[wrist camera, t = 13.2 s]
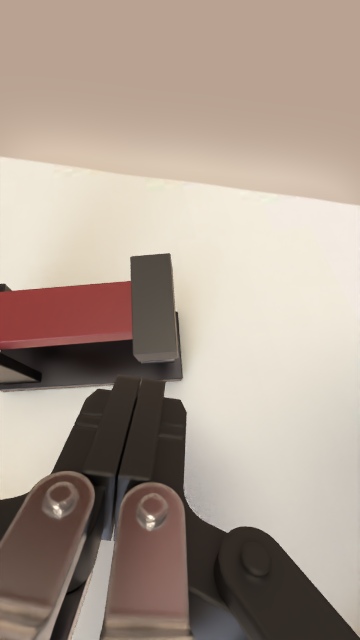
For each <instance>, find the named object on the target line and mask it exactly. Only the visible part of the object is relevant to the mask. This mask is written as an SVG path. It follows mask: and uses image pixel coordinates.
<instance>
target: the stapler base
mask: <svg viewBox="0 0 360 640" xmlns="http://www.w3.org/2000/svg"><path fill="white" fill-rule="evenodd" d="M6 291H12V290H11V289H10V288H9V287H8V286H7V285H6V284H0V292H6ZM175 313H176V327H177V341H178V356H179V358H177V359H165V360H152V361H138V360H137V358H136V357H135V356H134V355H133V339H129V340H117V341H104V342H92V343H79V344H67V345H54V346H42V347H29V348H17V349H4V350H1V352H0V391H3V392H7V391H23V390H39V389H55V388H71V387H87V386H103V385H114V383H115V380H116V378H117V376H118V375H126V376H133V377H140V378H141V383H142V379H143V378H148V379H156V380H163V381H181V380H182V378H183V377H182V364H181V350H180V336H179V322H178V312H175Z"/></svg>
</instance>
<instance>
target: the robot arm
mask: <svg viewBox="0 0 360 640" xmlns="http://www.w3.org/2000/svg"><path fill="white" fill-rule="evenodd" d="M165 383H166V381H163V380H156V379H148V378H143V379H142V383H141V378H140V377H133V376H126V375H118V376H117V378H116V380H115V383H114V386H113V389H112V390H105V389H97V390H96V391H95V392H94V393H92V394H91V395H90V396H89V397H88V398H86V400H85V402H84V404H83V407H82V409H81V411H80V414H79V415H78V417H77V419H76V422H75V425H74V426H73V428H72V430H71V432H70V434H69V437H68V439H67V441H66V443H65V445H64V447H63V450H62V452H61V454H60V456H59V458H58V460H57V462H56V465H55V467H54V469H53V471H52V472H51V474H50V475H49V476H47V477H45V478H43V479H42V480H40V481H39V482H38V483H37V484H36V485H35V486H34V487H33V488H32V489H31V491H30V492H28V493H26V494H24V495H21V496H18V497H14V498H9V499H4V500H0V640H71V639H72V636H73V633H74V630H75V627H76V624H77V621H78V617H79V614H80V611H81V608H82V605H83V602H84V599H85V596H86V593H87V590H88V586H89V583H90V580H91V577H92V573H93V568H94V565H95V561H96V557H97V553H98V549H99V545H100V541H101V539H102V540H109V541H111V538H112V533H113V529H114V541H115V544H114V551H113V558H112V565H111V572H110V579H109V586H108V593H107V600H106V607H105V614H104V620H103V626H102V630H101V634H100V639H99V640H360V638H359V636H358V635H357V634H356V633H355V632H354V631H353V630H352V628H351V627H350V626H349V625H348V624H347V623H346V621H345V620H344V619H343V618H342V617H341V616H340V615H339V613H338V612H337V611H336V610H335V609H334V608H333V606H332V605H331V604H330V603H329V602H328V601H327V599H326V598H325V597H324V596H323V595H322V594H321V593H320V591H319V590H318V589H317V588H316V587H315V586H314V584H313V583H312V582H311V581H310V580H309V579H308V577H307V576H306V575H305V574H304V573H303V572H302V571H301V569H300V568H299V567H298V566H297V565H296V564H295V562H294V561H293V560H292V559H291V558H290V557H289V556H288V554H287V553H286V552H285V551H284V550H283V549H282V547H281V546H280V545H279V544H278V543H277V542H276V541H275V540H274V539H273V538H272V537H271V536H270V535H268V534H267V533H265V532H263V531H262V530H259V529H257V528H253V527H246V526H244V527H238V528H235V529H233V530H231V531H230V532H229V533H226V532H224V531H222V530H220V529H218V528H216V527H214V526H212V525H210V524H208V523H206V522H205V521H203V520H202V519H200V518H199V517H198V516H197V515H196V514H195V513H194V512H193V511H192V510H191V508H190V507H189V505H188V503H187V501H186V499H185V496H184V489H183V483H184V460H185V437H186V414H187V412H186V410H185V408H184V406H183V404H182V402H181V400H179V399H172V398H164V390H165ZM114 525H115V528H114Z"/></svg>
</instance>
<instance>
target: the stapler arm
mask: <svg viewBox="0 0 360 640" xmlns="http://www.w3.org/2000/svg"><path fill="white" fill-rule="evenodd" d="M130 262H131V281H126V282H114V283H102V284H90V285H78V286H66V287H54V288H42V289H30V290H18V291H6V292H0V350H4V349H17V348H29V347H42V346H54V345H67V344H79V343H92V342H104V341H117V340H129V339H133V355H134V356H135V357H136V358H137V360H138V361H152V360H165V359H177V358H179V356H178V341H177V327H176V313H175V299H174V284H173V270H172V263H171V256H170V253H168V254H156V255H144V256H133V257H130Z"/></svg>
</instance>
